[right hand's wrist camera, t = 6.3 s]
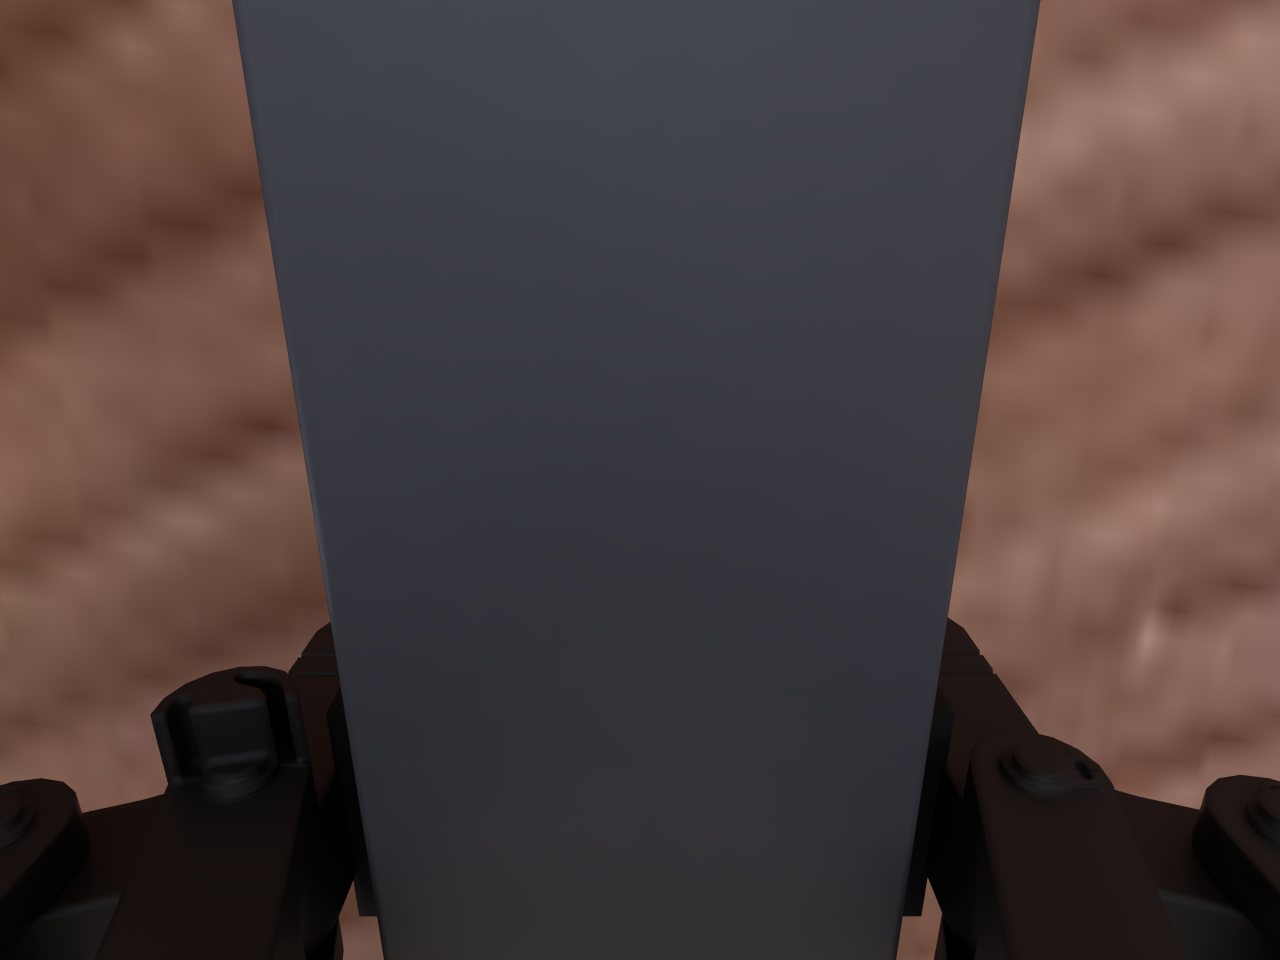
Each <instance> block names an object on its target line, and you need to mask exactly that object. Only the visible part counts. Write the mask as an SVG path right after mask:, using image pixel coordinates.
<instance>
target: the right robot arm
mask: <svg viewBox="0 0 1280 960" xmlns="http://www.w3.org/2000/svg"><path fill="white" fill-rule="evenodd" d="M979 652H980V651H979V649H978V648H977V646H976V645H975V643H974V642H973V641H972V639H971V638H970V636H969V635H968V634H967V632H966V631H965V629H964V628H963V627H961V626H960V625H958V624H957V623H955V622H954V621H952V620H951V619H949V618H948V617H947V624H946V631H945V637H944V644H943V650H942V657H941V664H940V670H939V677H938V684H937V690H936V697H935V704H934V710H933V717H932V724H931V730H930V737H929V743H928V750H927V757H926V763H925V770H924V777H923V783H922V790H921V797H920V803H919V810H918V817H917V823H916V830H915V836H914V843H913V850H912V856H911V863H910V870H909V876H908V883H907V890H906V896H905V903H904V910H903V916H921V914H922V908H923V902H924V896H925V890H926V884H927V878H928V879H929V881H930V884H931V886H932V889H933V891H934V894H935V896H936V899H937V901H938V904H939V906H940V908H941V911H942V917H941V923H940V929H939V934H938V940H937V945H936V951H935V957H934V960H1280V781H1276V780H1273V779H1270V778H1262V777H1254V776H1246V775H1237V776H1230V777H1224V778H1218V779H1217V780H1216V781H1215V782H1214V783H1213V784H1211V785H1210V786H1209V787H1208V788H1207V789H1206V792H1205V795H1204V798H1203V801H1202V804H1201V808H1200V810H1198V809H1193V808H1189V807H1184V806H1180V805H1175V804H1170V803H1166V802H1161V801H1157V800H1152V799H1147V798H1143V797H1138V796H1135V795H1131V794H1128V793H1124V792H1120V791H1117V790H1115V789H1114V787H1113V784H1112V783H1111V781H1110V780H1109V778H1108V777H1107V775H1106V774H1105V773H1104V771H1103V770H1102V768H1101V767H1100V766H1099V765H1098V764H1097V763H1096V762H1094V761H1093V760H1092V759H1090V758H1089V757H1088V756H1086V755H1085V754H1084V753H1083V752H1081V751H1080V750H1079V749H1076V748H1074V747H1072V746H1070V745H1068V744H1066V743H1064V742H1062V741H1059V740H1057V739H1055V738H1053V737H1049V736H1045V735H1041V734H1038V732H1037V731H1036V729H1035V728H1034V727H1033V725H1032V724H1031V722H1030V721H1029V720H1028V718H1027V717H1026V715H1025V714H1024V713H1023V711H1022V710H1021V708H1020V707H1019V706H1018V704H1017V703H1016V701H1015V700H1014V698H1013V697H1012V696H1011V694H1010V693H1009V691H1008V690H1007V689H1006V687H1005V686H1004V684H1003V683H1002V682H1001V680H1000V679H999V677H998V676H997V674H993V669H992V667H991V666H990V665H989V663H988V662H987V660H986V659H985V658H984V656H983V655H980V653H979ZM150 716H151V719H152V723H153V727H154V731H155V735H156V739H157V743H158V746H159V750H160V754H161V758H162V762H163V766H164V770H165V773H166V777H167V781H168V786H167V788H166V791H165V793H164V794H162V795H158V796H155V797H151V798H148V799H144V800H140V801H135V802H131V803H126V804H122V805H117V806H112V807H108V808H103V809H99V810H94V811H90V812H85V813H82V812H81V808H80V805H79V802H78V799H77V796H76V792H75V791H74V790H72V789H71V788H70V787H69V786H68V785H66V784H65V783H64V782H61V781H55V780H49V779H43V778H40V779H32V780H23V781H15V782H10V783H7V784H4V785H0V960H343V951H344V949H343V942H342V935H341V929H340V923H339V914H340V912H341V909H342V907H343V904H344V902H345V899H346V897H347V894H348V892H349V889H350V887H351V884H352V882H353V880H354V886H355V892H356V899H357V905H358V911H359V916H377V912H376V906H375V899H374V893H373V887H372V880H371V874H370V868H369V861H368V855H367V849H366V842H365V836H364V830H363V823H362V817H361V811H360V805H359V798H358V792H357V786H356V779H355V773H354V767H353V760H352V754H351V748H350V741H349V735H348V729H347V722H346V716H345V710H344V703H343V697H342V691H341V685H340V678H339V672H338V666H337V659H336V653H335V647H334V640H333V634H332V628H331V622H330V623H328V624H327V625H325V626H324V627H322V628H321V629H319V630H318V631H317V632H316V633H315V635H314V636H313V638H312V639H311V641H310V642H309V643H308V645H307V646H306V648H305V649H304V651H303V652H302V656H301V658H298V659H297V660H296V662H295V663H294V665H293V666H292V668H291V669H290V670H289V672H288V673H286V672H285V671H283V670H278V669H274V668H270V667H266V666H252V667H237V668H232V669H228V670H223V671H218V672H214V673H211V674H208V675H206V676H203V677H201V678H199V679H196V680H194V681H191V682H189V683H186V684H185V685H183V686H182V687H180V688H179V689H177V690H176V691H174V692H173V693H171V694H170V695H168V696H167V697H165V698H164V699H163V700H162V701H161V702H160V704H159V705H158V706H157V707H156V708H155V710H154V711H153V712H152V713H151V714H150Z"/></svg>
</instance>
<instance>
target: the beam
mask: <svg viewBox="0 0 1280 960" xmlns="http://www.w3.org/2000/svg"><path fill="white" fill-rule="evenodd" d="M232 3H233V9H234V15H235V22H236V28H237V34H238V41H239V47H240V53H241V60H242V66H243V72H244V78H245V85H246V91H247V97H248V104H249V110H250V116H251V123H252V129H253V135H254V142H255V148H256V154H257V161H258V167H259V173H260V179H261V186H262V192H263V198H264V205H265V211H266V217H267V224H268V230H269V236H270V243H271V249H272V255H273V262H274V268H275V274H276V280H277V287H278V293H279V299H280V306H281V312H282V318H283V325H284V331H285V337H286V344H287V350H288V356H289V363H290V369H291V375H292V382H293V388H294V394H295V400H296V407H297V413H298V419H299V426H300V432H301V438H302V445H303V451H304V457H305V464H306V470H307V476H308V483H309V489H310V495H311V501H312V508H313V514H314V520H315V527H316V533H317V539H318V546H319V552H320V558H321V565H322V571H323V577H324V584H325V590H326V596H327V602H328V609H329V615H330V621H331V628H332V634H333V640H334V647H335V653H336V659H337V666H338V672H339V678H340V685H341V691H342V697H343V703H344V710H345V716H346V722H347V729H348V735H349V741H350V748H351V754H352V760H353V767H354V773H355V779H356V786H357V792H358V798H359V805H360V811H361V817H362V823H363V830H364V836H365V842H366V849H367V855H368V861H369V868H370V874H371V880H372V887H373V893H374V899H375V906H376V912H377V918H378V924H379V931H380V937H381V943H382V950H383V956H384V960H896V956H897V949H898V943H899V936H900V930H901V923H902V916H903V910H904V903H905V896H906V890H907V883H908V876H909V870H910V863H911V856H912V850H913V843H914V836H915V830H916V823H917V817H918V810H919V803H920V797H921V790H922V783H923V777H924V770H925V763H926V757H927V750H928V743H929V737H930V730H931V724H932V717H933V710H934V704H935V697H936V690H937V684H938V677H939V670H940V664H941V657H942V650H943V644H944V637H945V631H946V624H947V617H948V611H949V604H950V597H951V591H952V584H953V577H954V571H955V564H956V557H957V551H958V544H959V538H960V531H961V524H962V518H963V511H964V504H965V498H966V491H967V484H968V478H969V471H970V464H971V458H972V451H973V445H974V438H975V431H976V425H977V418H978V411H979V405H980V398H981V391H982V385H983V378H984V371H985V365H986V358H987V352H988V345H989V338H990V332H991V325H992V318H993V312H994V305H995V298H996V292H997V285H998V278H999V272H1000V265H1001V258H1002V252H1003V245H1004V239H1005V232H1006V225H1007V219H1008V212H1009V205H1010V199H1011V192H1012V185H1013V179H1014V172H1015V165H1016V159H1017V152H1018V146H1019V139H1020V132H1021V126H1022V119H1023V112H1024V106H1025V99H1026V92H1027V86H1028V79H1029V72H1030V66H1031V59H1032V53H1033V46H1034V39H1035V33H1036V26H1037V19H1038V13H1039V6H1040V0H232Z"/></svg>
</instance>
